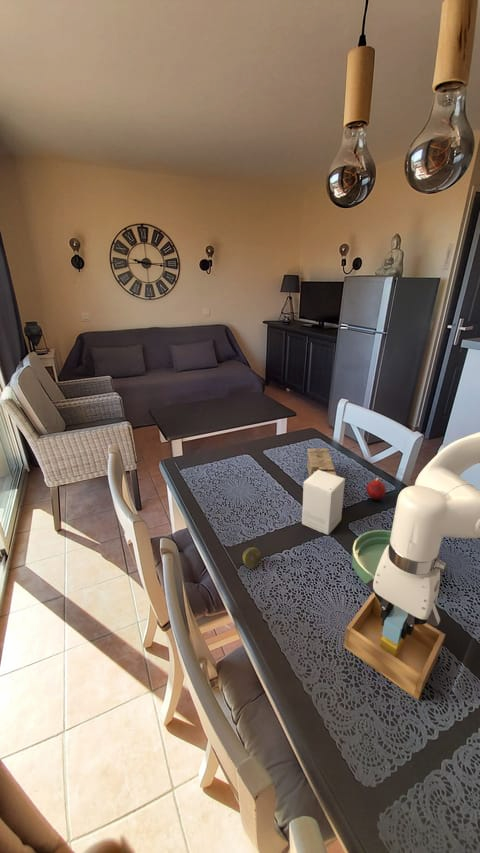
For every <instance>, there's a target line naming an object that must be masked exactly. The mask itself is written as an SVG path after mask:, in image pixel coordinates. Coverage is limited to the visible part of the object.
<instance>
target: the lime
mask: <svg viewBox="0 0 480 853" xmlns="http://www.w3.org/2000/svg"><path fill="white" fill-rule="evenodd" d="M242 561H243V563H244V565H245V566H246V567H247V568H248V569H251V570H253V569H255V568H257V567H258V566H259V564H260V563H261V561H262V552H261V551H260V550H259V549H258V548H256V547H248V548H246V549H245V550H244V551H243V553H242Z"/></svg>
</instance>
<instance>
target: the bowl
mask: <svg viewBox="0 0 480 853" xmlns="http://www.w3.org/2000/svg"><path fill="white" fill-rule="evenodd" d="M391 532H392V530H387V529H374V530H368V531H366V532H364V533H361V534H360V535H358V537H356V538H355V540H354V542H353V545H352V550H351V566H352V568H353V570H354V572H355V574H356V575H357V576H358V578H360V579H361V581H362V582H363V583H364V584H366V585H367V583H368V581H369V580H370V579H371V578H373V577H374V576H375V574H376V570H377V567H378V564H379V562H380V559H381V557H382V554H383V552H384V550H385V549H386V547H387V546H388V545H389V542H390V537H391Z"/></svg>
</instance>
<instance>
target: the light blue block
mask: <svg viewBox="0 0 480 853" xmlns="http://www.w3.org/2000/svg"><path fill="white" fill-rule="evenodd" d="M407 617H408V612H406V611H404V610H403V609H401V608H399V607H397V606H396V605H395V606H394V608H393V609H392V611H391V612H390V614H389V615H388V617H387V618H386V619H385V622H384V627H383V632H382V635H383V636H384V637H386V638H387V639H389V640H390V641H392V642H393V643H395V644H396V645H398V643H399V641H400V640H401V633H402V629H403V623H404V622H405V620H406V618H407Z"/></svg>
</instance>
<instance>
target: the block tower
mask: <svg viewBox="0 0 480 853" xmlns="http://www.w3.org/2000/svg"><path fill="white" fill-rule="evenodd" d="M329 451H330V450H329V448H307V464H306V465H307V466H306V469H307V473H308V478H309V477H310V476H311V475H313V474H314V473H315V472H316V471H317V470H321V471H324V472H326V473H329V474H332V475H335V476H338V475H337V473H336V471H335V470H336V469H335V466H334V463H333V460H332V457H331V455H330V454H331V453H330V452H329Z"/></svg>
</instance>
